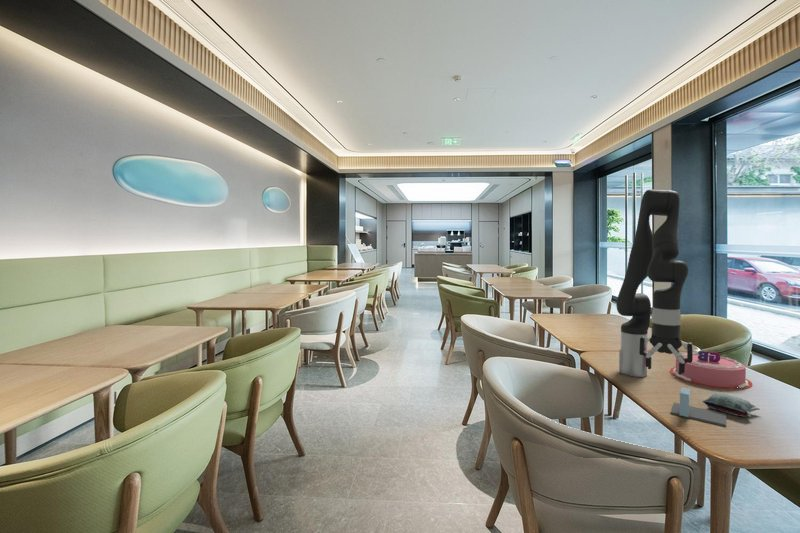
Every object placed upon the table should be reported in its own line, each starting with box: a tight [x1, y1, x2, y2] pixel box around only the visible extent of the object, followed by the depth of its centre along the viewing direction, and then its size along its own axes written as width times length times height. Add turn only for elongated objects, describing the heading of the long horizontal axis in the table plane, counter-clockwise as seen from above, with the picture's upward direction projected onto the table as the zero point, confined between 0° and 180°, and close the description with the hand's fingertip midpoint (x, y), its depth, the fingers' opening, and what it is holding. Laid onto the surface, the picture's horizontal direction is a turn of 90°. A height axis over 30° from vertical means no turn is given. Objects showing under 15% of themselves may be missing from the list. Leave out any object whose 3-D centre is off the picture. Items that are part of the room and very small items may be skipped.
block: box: [679, 386, 691, 418], centre depth 113 cm, size 2×7×6 cm
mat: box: [670, 402, 727, 427], centre depth 113 cm, size 13×9×1 cm
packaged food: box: [701, 392, 761, 418], centre depth 115 cm, size 9×12×5 cm
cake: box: [669, 350, 753, 391], centre depth 144 cm, size 25×25×11 cm
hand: (664, 371), depth 118 cm, fingers open, 7 cm apart
